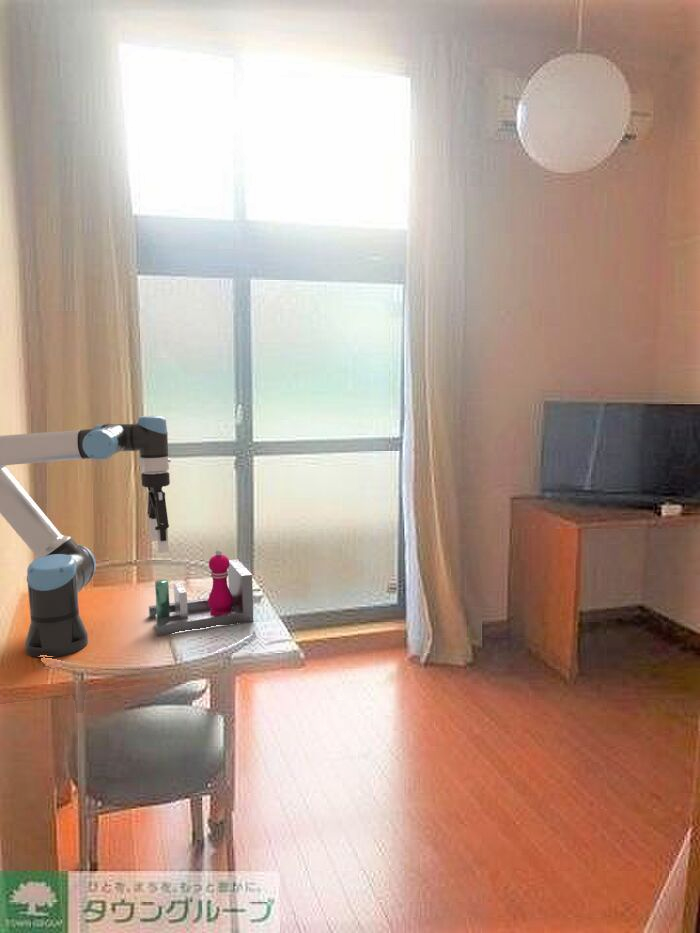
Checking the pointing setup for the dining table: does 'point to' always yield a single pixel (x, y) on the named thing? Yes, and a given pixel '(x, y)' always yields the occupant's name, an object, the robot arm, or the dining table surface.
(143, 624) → the dining table surface
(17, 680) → the dining table surface
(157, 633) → the frame
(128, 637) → the dining table surface
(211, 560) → the pepper mill
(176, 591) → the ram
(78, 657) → the dining table surface
